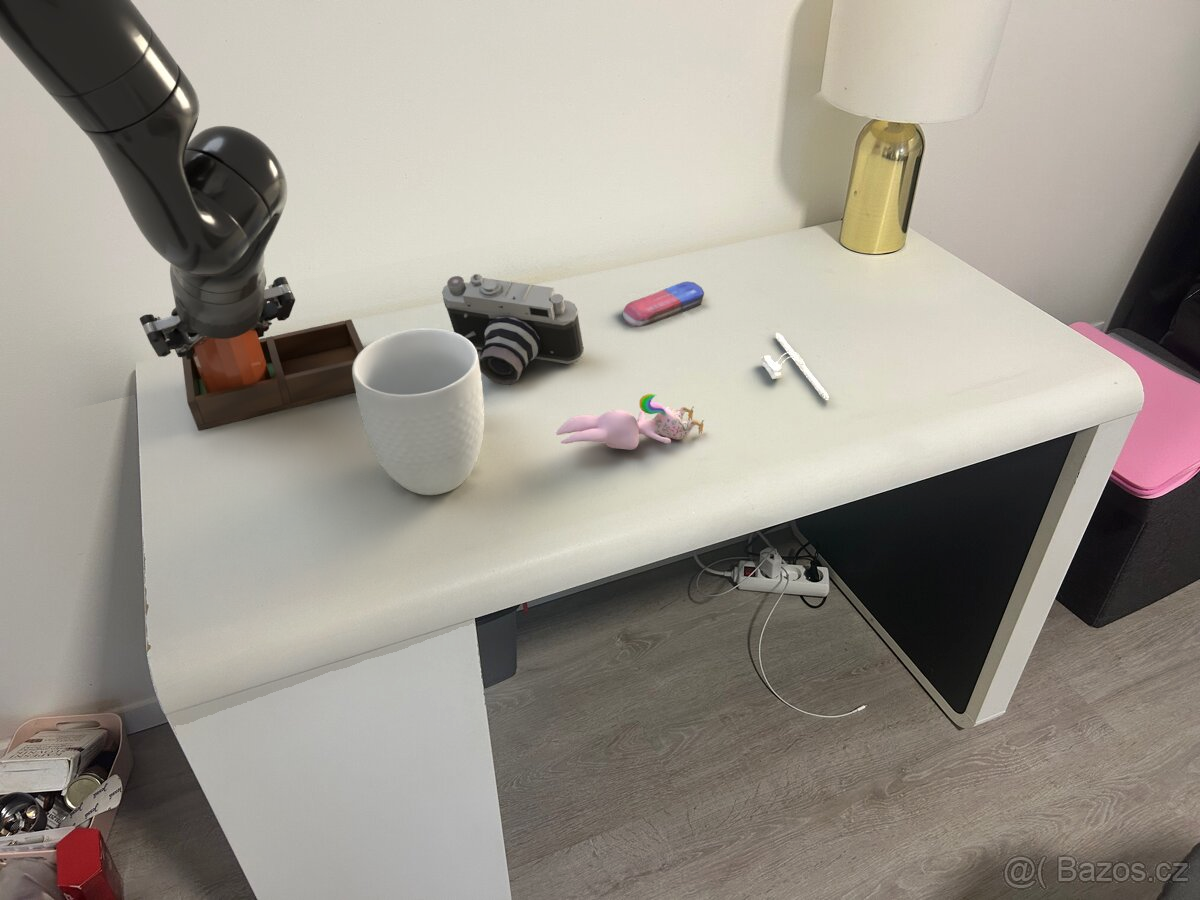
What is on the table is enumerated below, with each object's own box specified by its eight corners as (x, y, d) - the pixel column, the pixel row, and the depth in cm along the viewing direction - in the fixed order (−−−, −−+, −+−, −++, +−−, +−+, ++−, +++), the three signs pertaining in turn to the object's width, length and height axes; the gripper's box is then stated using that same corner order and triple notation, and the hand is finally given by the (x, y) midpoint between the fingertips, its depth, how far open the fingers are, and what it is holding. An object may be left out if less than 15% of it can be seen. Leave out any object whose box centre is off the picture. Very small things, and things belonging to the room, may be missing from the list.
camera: (435, 381, 97) (412, 319, 89) (463, 327, 101) (443, 264, 93) (565, 403, 93) (553, 341, 85) (587, 346, 98) (578, 283, 90)
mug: (429, 408, 90) (411, 299, 82) (525, 428, 87) (516, 317, 79) (354, 498, 79) (325, 382, 71) (461, 523, 76) (442, 407, 68)
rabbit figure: (680, 421, 90) (547, 433, 85) (692, 373, 87) (553, 383, 81) (706, 456, 86) (566, 471, 80) (719, 407, 82) (574, 419, 77)
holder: (198, 430, 88) (187, 402, 85) (192, 382, 94) (181, 355, 92) (375, 387, 93) (369, 359, 91) (357, 345, 100) (351, 318, 98)
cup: (211, 412, 89) (183, 338, 83) (206, 380, 93) (179, 308, 88) (276, 397, 91) (253, 324, 85) (267, 366, 95) (245, 295, 90)
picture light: (830, 402, 90) (834, 386, 89) (793, 408, 90) (795, 392, 88) (778, 335, 101) (780, 320, 100) (744, 340, 100) (746, 325, 99)
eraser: (636, 332, 103) (636, 319, 102) (617, 317, 105) (617, 305, 104) (708, 303, 107) (709, 290, 106) (688, 290, 110) (689, 278, 109)
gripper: (282, 224, 78) (274, 288, 93) (114, 267, 72) (135, 327, 87) (315, 299, 78) (302, 350, 93) (150, 348, 72) (164, 394, 87)
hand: (221, 339), depth 90 cm, fingers closed on cup, 6 cm apart
